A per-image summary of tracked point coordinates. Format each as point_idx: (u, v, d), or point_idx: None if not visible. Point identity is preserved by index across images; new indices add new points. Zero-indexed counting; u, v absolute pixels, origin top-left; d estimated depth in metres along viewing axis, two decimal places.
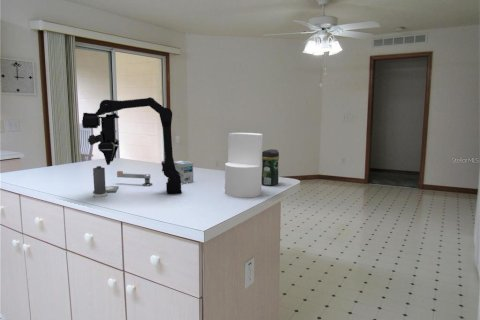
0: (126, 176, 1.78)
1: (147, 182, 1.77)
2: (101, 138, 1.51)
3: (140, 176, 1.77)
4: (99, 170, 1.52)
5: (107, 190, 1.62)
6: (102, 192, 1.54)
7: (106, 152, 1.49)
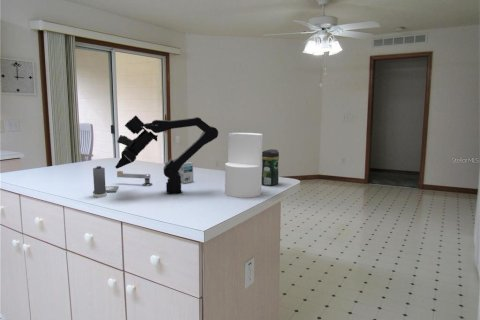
0: (126, 176, 1.78)
1: (147, 182, 1.77)
2: (130, 144, 1.53)
3: (140, 176, 1.77)
4: (99, 170, 1.52)
5: (107, 190, 1.62)
6: (102, 192, 1.54)
7: (124, 158, 1.50)
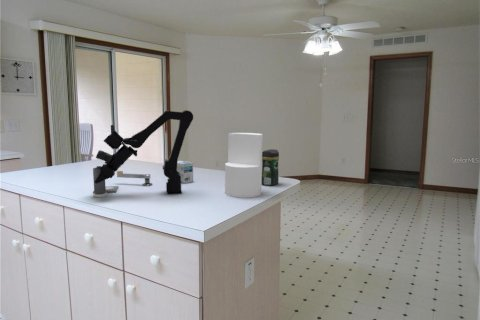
0: (126, 176, 1.78)
1: (147, 182, 1.77)
2: (109, 160, 1.52)
3: (140, 176, 1.77)
4: (99, 170, 1.52)
5: (107, 190, 1.62)
6: (102, 192, 1.54)
7: (103, 173, 1.51)
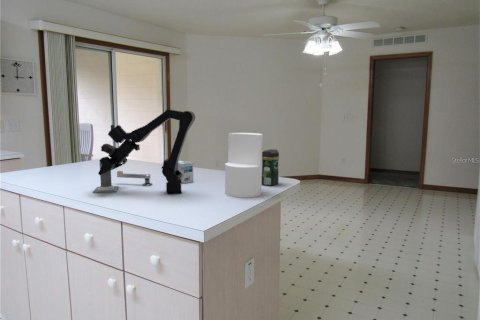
0: (126, 176, 1.78)
1: (147, 182, 1.77)
2: (111, 153, 1.60)
3: (140, 176, 1.77)
4: None
5: (107, 190, 1.62)
6: (107, 185, 1.63)
7: (105, 166, 1.59)
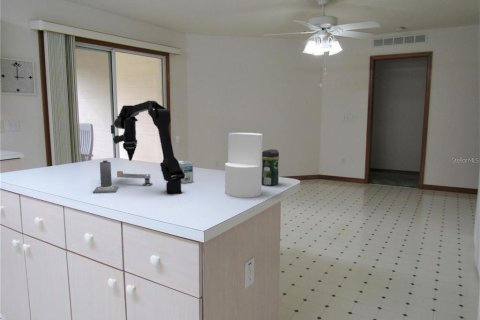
0: (126, 176, 1.78)
1: (147, 182, 1.77)
2: (124, 138, 1.78)
3: (140, 176, 1.77)
4: (104, 164, 1.62)
5: (107, 190, 1.62)
6: (107, 185, 1.63)
7: (129, 150, 1.76)
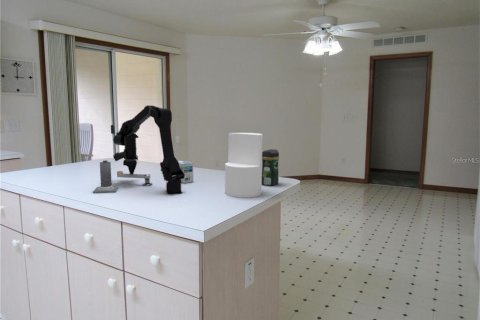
0: (126, 176, 1.78)
1: (147, 182, 1.77)
2: (125, 155, 1.76)
3: (140, 176, 1.77)
4: (104, 164, 1.62)
5: (107, 190, 1.62)
6: (107, 185, 1.63)
7: (130, 166, 1.78)
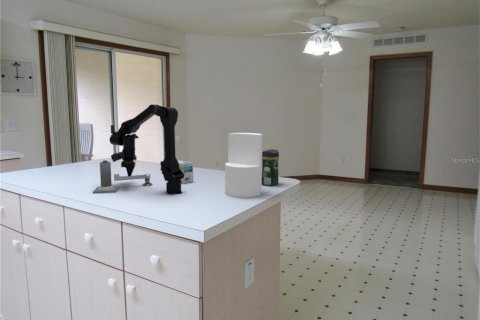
0: (125, 178, 1.72)
1: (147, 182, 1.77)
2: (123, 156, 1.70)
3: (140, 177, 1.75)
4: (104, 164, 1.62)
5: (107, 190, 1.62)
6: (107, 185, 1.63)
7: (128, 167, 1.73)
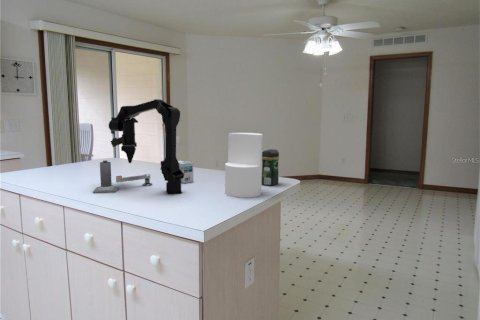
0: (127, 180, 1.70)
1: (147, 182, 1.77)
2: (123, 141, 1.67)
3: (141, 177, 1.75)
4: (104, 164, 1.62)
5: (107, 190, 1.62)
6: (107, 185, 1.63)
7: (128, 152, 1.70)
